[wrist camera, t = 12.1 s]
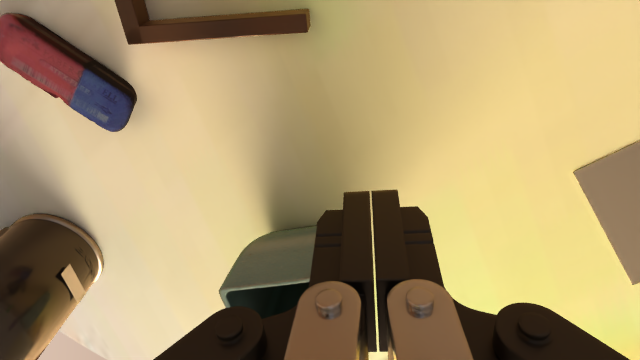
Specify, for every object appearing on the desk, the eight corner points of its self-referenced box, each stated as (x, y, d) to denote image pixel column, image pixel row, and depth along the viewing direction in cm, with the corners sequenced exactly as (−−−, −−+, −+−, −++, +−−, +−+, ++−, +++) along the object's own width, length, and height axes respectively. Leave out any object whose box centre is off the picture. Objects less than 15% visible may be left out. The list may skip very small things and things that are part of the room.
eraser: (-5, 45, 33) (-23, 52, 32) (8, 0, 31) (-11, 4, 30) (128, 131, 36) (117, 140, 34) (148, 94, 34) (137, 102, 32)
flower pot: (338, 203, 38) (331, 276, 31) (357, 276, 43) (355, 356, 35) (244, 217, 40) (215, 289, 32) (271, 286, 44) (252, 364, 37)
